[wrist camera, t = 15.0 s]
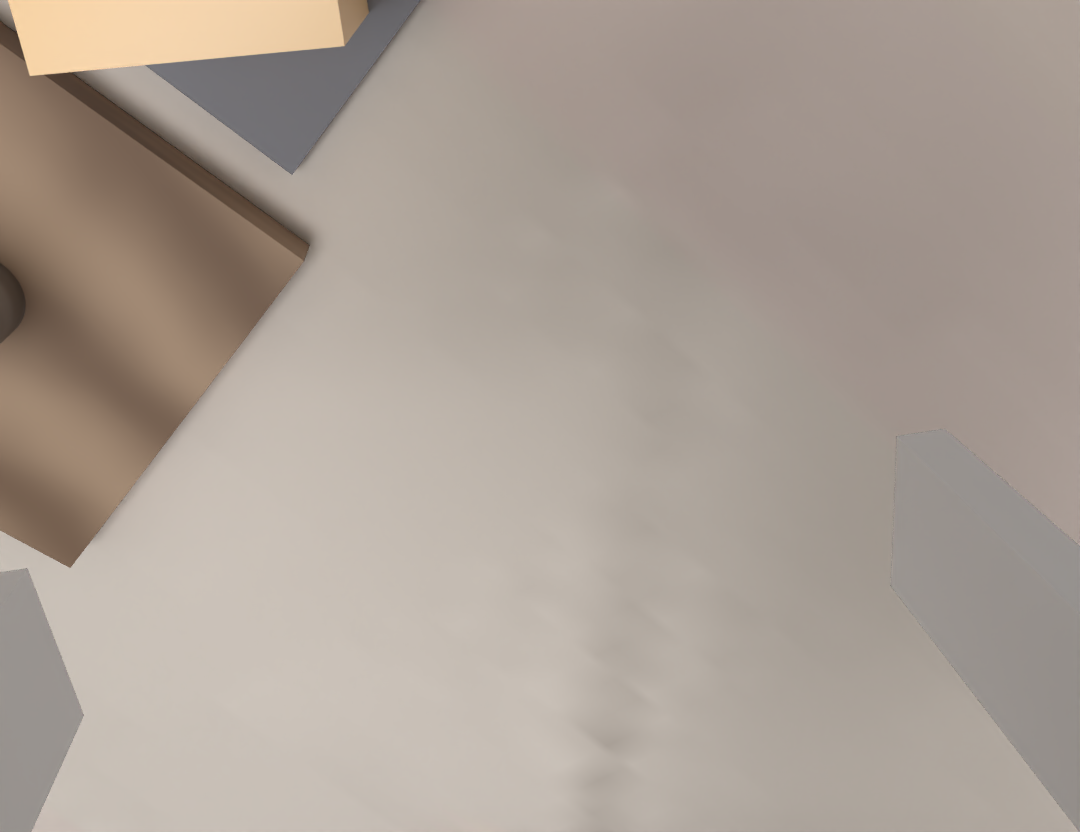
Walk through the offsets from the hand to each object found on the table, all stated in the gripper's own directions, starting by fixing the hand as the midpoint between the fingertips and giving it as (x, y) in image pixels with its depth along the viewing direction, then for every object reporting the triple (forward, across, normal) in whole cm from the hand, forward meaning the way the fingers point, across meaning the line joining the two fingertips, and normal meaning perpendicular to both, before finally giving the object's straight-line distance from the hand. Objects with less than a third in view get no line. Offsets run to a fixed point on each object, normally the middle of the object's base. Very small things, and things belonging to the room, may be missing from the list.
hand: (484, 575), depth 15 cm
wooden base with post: (+24, +16, 0) cm, 29 cm away
